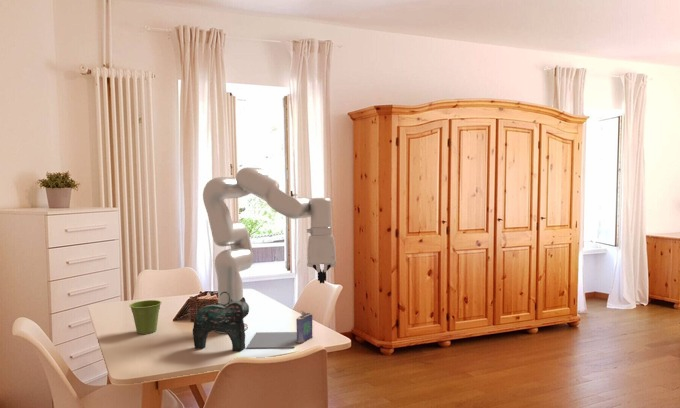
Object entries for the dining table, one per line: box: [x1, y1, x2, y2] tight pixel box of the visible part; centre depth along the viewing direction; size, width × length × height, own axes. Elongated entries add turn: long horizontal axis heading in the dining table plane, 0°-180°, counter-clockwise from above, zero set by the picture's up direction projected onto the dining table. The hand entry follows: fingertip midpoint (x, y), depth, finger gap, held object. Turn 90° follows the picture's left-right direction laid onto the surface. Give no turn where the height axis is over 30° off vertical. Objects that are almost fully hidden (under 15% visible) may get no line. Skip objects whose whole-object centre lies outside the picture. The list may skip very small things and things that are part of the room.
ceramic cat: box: [192, 292, 250, 352], centre depth 173 cm, size 20×6×20 cm, turn 77°
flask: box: [296, 310, 313, 345], centre depth 182 cm, size 9×3×11 cm, turn 153°
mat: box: [245, 331, 297, 350], centre depth 182 cm, size 16×18×1 cm
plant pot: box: [129, 299, 162, 335], centre depth 196 cm, size 12×12×11 cm
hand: (322, 282), depth 181 cm, fingers closed
